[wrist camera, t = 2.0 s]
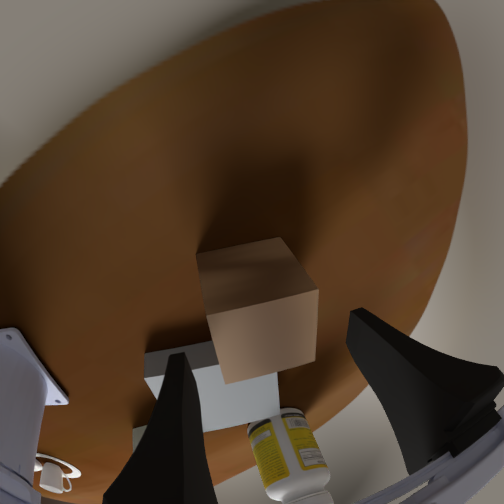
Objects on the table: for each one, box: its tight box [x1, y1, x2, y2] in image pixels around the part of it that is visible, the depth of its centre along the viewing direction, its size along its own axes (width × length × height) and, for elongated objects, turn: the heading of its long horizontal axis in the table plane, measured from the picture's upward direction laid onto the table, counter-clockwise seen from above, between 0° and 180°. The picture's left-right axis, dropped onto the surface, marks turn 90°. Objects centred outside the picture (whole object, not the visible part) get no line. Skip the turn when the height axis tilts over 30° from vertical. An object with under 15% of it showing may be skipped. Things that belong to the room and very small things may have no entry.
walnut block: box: [196, 237, 319, 385], centre depth 15 cm, size 4×4×5 cm
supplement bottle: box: [247, 408, 334, 504], centre depth 21 cm, size 6×6×10 cm
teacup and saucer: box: [34, 453, 81, 493], centre depth 22 cm, size 9×8×4 cm
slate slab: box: [144, 340, 280, 432], centre depth 20 cm, size 8×8×2 cm
